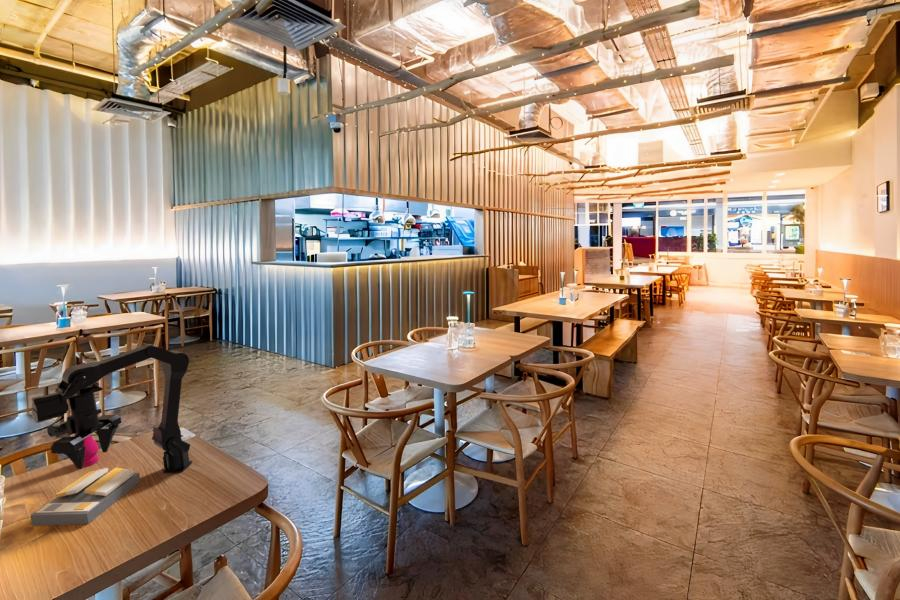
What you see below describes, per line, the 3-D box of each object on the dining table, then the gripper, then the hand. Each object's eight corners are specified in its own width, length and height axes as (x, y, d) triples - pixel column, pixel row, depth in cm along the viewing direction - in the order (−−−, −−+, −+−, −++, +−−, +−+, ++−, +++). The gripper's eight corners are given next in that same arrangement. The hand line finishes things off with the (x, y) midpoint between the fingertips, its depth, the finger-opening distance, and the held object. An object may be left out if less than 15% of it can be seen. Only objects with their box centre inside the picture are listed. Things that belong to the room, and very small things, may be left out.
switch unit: (140, 481, 138) (138, 470, 137) (88, 523, 118) (86, 511, 117) (92, 483, 138) (90, 472, 137) (32, 525, 117) (29, 513, 117)
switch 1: (108, 470, 136) (107, 467, 136) (76, 492, 124) (75, 489, 124) (90, 474, 136) (89, 471, 136) (56, 497, 124) (55, 494, 124)
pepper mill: (84, 469, 146) (76, 412, 143) (67, 467, 148) (58, 411, 145) (105, 458, 153) (98, 404, 150) (89, 457, 155) (81, 403, 152)
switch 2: (135, 473, 136) (135, 470, 136) (105, 496, 125) (106, 492, 124) (115, 470, 136) (115, 467, 136) (84, 492, 124) (84, 489, 124)
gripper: (81, 398, 133) (90, 445, 136) (24, 425, 115) (35, 479, 117) (118, 396, 134) (126, 443, 136) (67, 423, 115) (78, 477, 118)
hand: (93, 460), depth 127 cm, fingers open, 9 cm apart
